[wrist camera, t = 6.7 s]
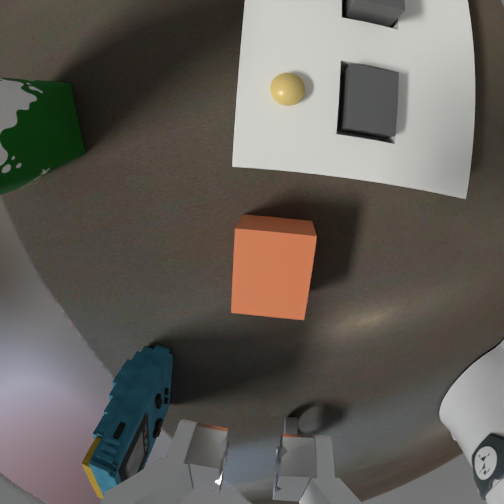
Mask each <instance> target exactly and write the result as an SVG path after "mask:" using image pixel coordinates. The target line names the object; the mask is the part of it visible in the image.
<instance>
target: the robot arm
mask: <svg viewBox="0 0 504 504" xmlns="http://www.w3.org/2000/svg"><path fill="white" fill-rule="evenodd" d="M439 415H440V420H441V421H442V423H443V424H444V425H445V426H446V427H447V428H448V429H449V431H450V432H451V435H452V437H453V439H454V440H456V441H457V442H458V444H459V445H460V447H461V449H462V451H463V452H464V454H465V455H466V457H467V459H468V461H469V463H470V464H471V466H472V468H473V473H474V479H475V482H476V485H477V488H478V492H479V493H480V495H481V498H482V499H483V500H486V501H487V504H504V340H503V341H502V342H501V343H500V344H499V345H498V346H497V347H496V348H494V349H493V350H491V351H490V352H488V353H487V354H485V355H484V356H482V357H481V358H480V359H478V360H477V361H476V362H475V363H473V364H472V365H471V366H470V367H469V368H468V369H467V370H466V371H465V372H464V373H463V374H462V375H461V376H460V377H459V378H458V379H457V380H456V381H455V383H454V384H453V385H452V386H451V388H450V389H449V391H448V392H447V394H446V396H445V397H444V399H443V401H442V404H441V407H440V412H439ZM228 438H229V428H225V427H219V426H214V425H208V424H203V423H198V422H194V421H189V420H184V419H182V420H181V421H180V422H179V424H178V427H177V430H176V432H175V435H174V438H173V440H172V443H171V446H170V449H169V452H168V454H167V457H166V459H165V458H160V459H159V460H157V461H155V462H154V463H152V464H151V465H149V466H148V467H146V468H145V469H143V470H141V471H140V472H138V473H137V474H135V475H133V476H132V477H130V478H128V479H127V480H125V481H123V482H122V483H120V484H118V485H117V486H115V487H113V488H111V489H110V490H108V491H106V492H105V494H104V496H103V499H102V501H101V503H100V504H178V503H179V502H181V501H182V500H183V499H184V498H185V497H186V496H187V495H189V494H190V493H191V492H192V491H193V489H195V490H201V491H207V492H213V493H220V490H221V485H222V481H223V468H224V467H225V466H226V461H227V455H228V448H229V441H228ZM275 473H276V477H275V481H274V487H273V500H285V501H299V504H362V503H361V501H360V500H359V499H358V498H357V497H356V496H355V495H354V494H353V493H352V492H351V490H350V489H349V488H348V487H347V486H346V485H345V484H344V483H343V482H342V480H341V479H340V478H335V475H334V462H333V450H332V439H331V437H330V436H318V435H300V434H282V435H281V439H280V447H278V451H277V456H276V463H275ZM0 504H48V503H46V502H45V501H43V500H41V499H40V498H38V497H36V496H35V495H33V494H31V493H30V492H28V491H27V490H25V489H23V488H22V487H20V486H19V485H17V484H16V483H14V482H13V481H11V480H10V479H8V478H7V477H6V476H4V475H3V474H2V473H0Z"/></svg>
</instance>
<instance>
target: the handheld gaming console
mask: <svg viewBox="0 0 504 504" xmlns="http://www.w3.org/2000/svg"><path fill="white" fill-rule="evenodd" d="M170 350H171V349H170V348H167V347H164V346H160V345H157V344H156V346H155V348H154V349H153V348H150V347H146V346H144V348H143V349H142V351H141V353H140V352H138V351H137V352H136V354H135V355H134V357H133V358H132V360H128V359H127V361H126V362H125V364H124V365H123V367H122V368H121V370H120V371H119V373H118V374H117V376H116V377H115V379H114V381H113V389H112V391H111V393H110V394H109V397H110V402H109V404H108V405H107V407H106V409H105V411H104V416H103V417H102V419H101V421H100V422H99V424H98V426H97V427H96V429H95V431H94V432H93V435H94V439H95V440H94V442H93V444H92V445H91V447H90V449H89V451H88V453H87V454H86V456H85V458H84V460H83V461H82V466H83V468H84V470H85V472H86V474H87V476H88V478H89V480H90V483H91V484H92V486H93V488H94V490H95V492H96V494H97V496H98V498H100V499H103V496H104V494H105V492H106V491H108V490H110V489H111V488H113V487H115V486H117V485H118V484H120V483H122V482H123V481H125V480H127V479H128V478H130V477H132V476H133V475H135V474H137V473H138V472H140V471H141V470H143V469H144V467H145V464H146V462H147V459H148V457H149V454H150V452H151V450H152V447H153V445H154V442H155V440H156V437H159V434H160V432H161V426H162V423H163V421H164V418H165V416H166V414H167V411H168V407H169V401H170V396H171V382H172V369H173V355H172V354H170Z"/></svg>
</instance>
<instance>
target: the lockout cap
mask: <svg viewBox="0 0 504 504" xmlns="http://www.w3.org/2000/svg"><path fill="white" fill-rule="evenodd" d="M316 239H317V235H316V232H315V229H314V226H313V223H312V221H308V220H299V219H289V218H278V217H268V216H257V215H246V214H243V216H242V217H241V219H240V221H239V223H238V224H237V226H236V228H235V241H234V261H233V282H232V305H231V313H239V314H248V315H257V316H267V317H277V318H287V319H298V320H304V317H305V311H306V305H307V299H308V293H309V287H310V281H311V274H312V267H313V261H314V254H315V247H316Z"/></svg>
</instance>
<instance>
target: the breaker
mask: <svg viewBox="0 0 504 504" xmlns="http://www.w3.org/2000/svg"><path fill="white" fill-rule="evenodd" d="M404 11H405V0H343V18H348V19H353V20H358V21H363V22H368V23H373V24H377V25H381V26H386V27H390V26H391V25H392V24H393V23H394V21H395V20H396V19H397V18H398V17H399V16H400V15H401V14H402V13H403V12H404Z"/></svg>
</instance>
